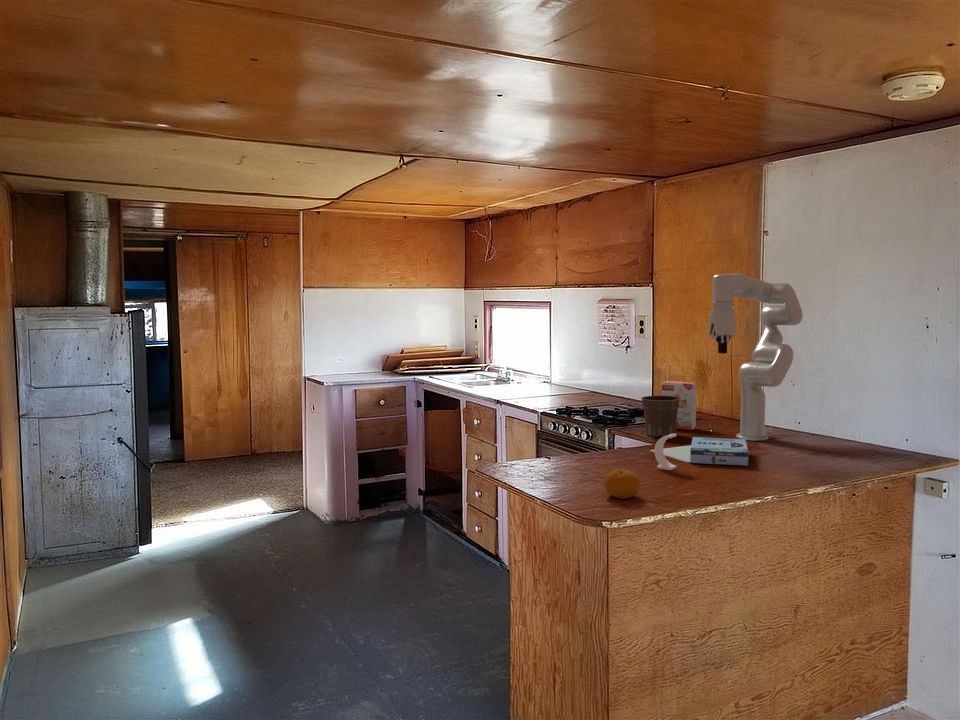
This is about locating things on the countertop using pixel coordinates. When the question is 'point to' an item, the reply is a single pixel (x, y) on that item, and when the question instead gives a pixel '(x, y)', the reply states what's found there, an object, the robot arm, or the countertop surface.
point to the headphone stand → (660, 454)
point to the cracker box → (683, 402)
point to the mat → (678, 453)
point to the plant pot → (660, 415)
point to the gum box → (719, 451)
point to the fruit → (622, 483)
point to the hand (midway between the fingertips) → (722, 353)
